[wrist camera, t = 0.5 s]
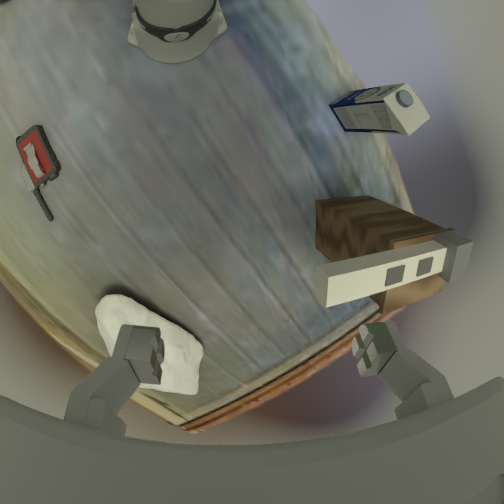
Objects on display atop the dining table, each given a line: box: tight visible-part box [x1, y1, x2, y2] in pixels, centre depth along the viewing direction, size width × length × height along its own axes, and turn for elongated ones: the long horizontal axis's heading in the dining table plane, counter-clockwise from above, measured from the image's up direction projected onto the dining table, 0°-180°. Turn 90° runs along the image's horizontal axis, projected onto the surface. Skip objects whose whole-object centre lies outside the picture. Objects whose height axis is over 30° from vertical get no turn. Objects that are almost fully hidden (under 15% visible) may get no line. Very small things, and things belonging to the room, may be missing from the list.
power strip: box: [316, 230, 473, 307], centre depth 32 cm, size 6×26×5 cm, turn 95°
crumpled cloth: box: [95, 294, 204, 395], centre depth 57 cm, size 24×35×9 cm
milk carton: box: [329, 83, 430, 135], centre depth 41 cm, size 7×7×20 cm
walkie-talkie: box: [16, 125, 61, 222], centre depth 39 cm, size 9×4×20 cm
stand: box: [316, 196, 455, 314], centre depth 49 cm, size 12×15×26 cm
